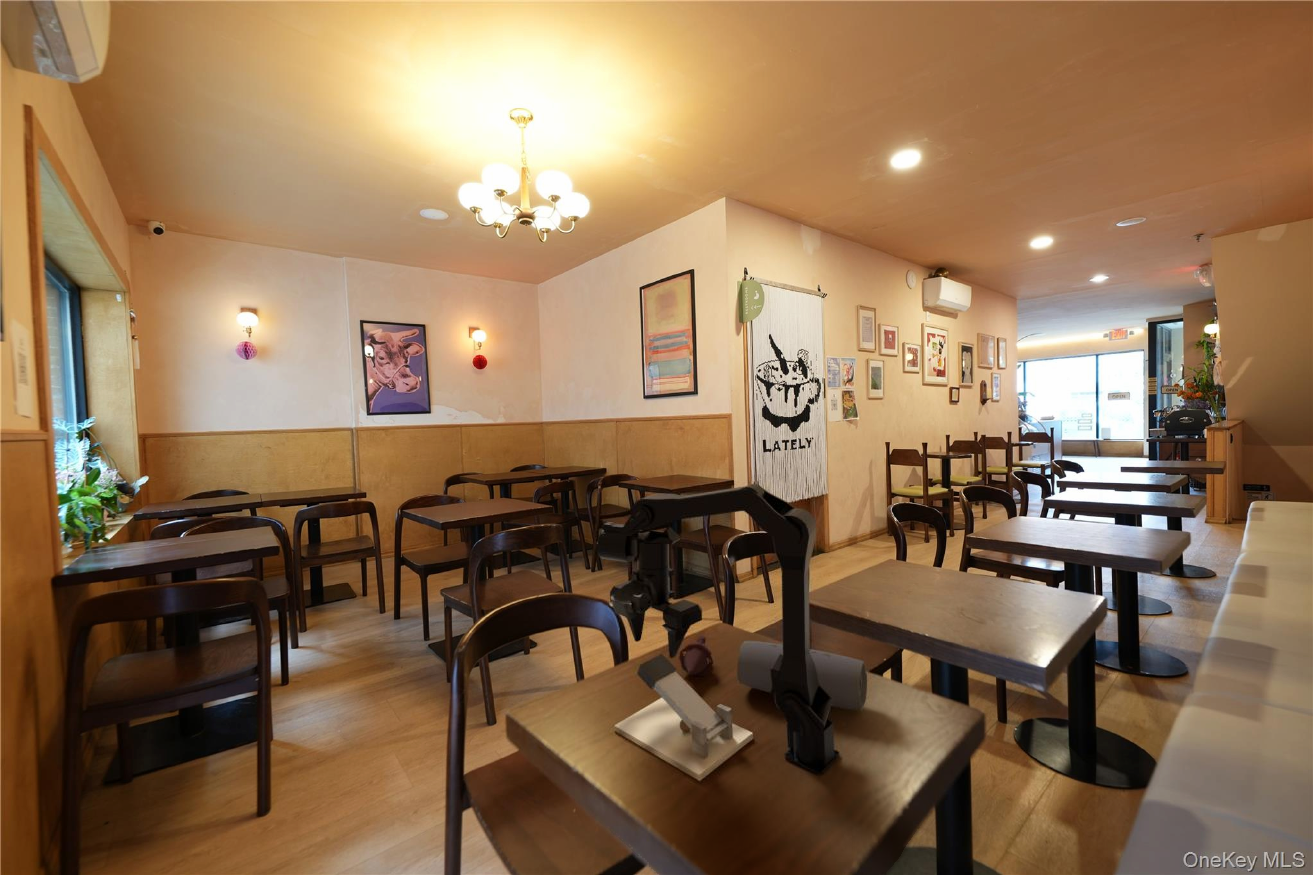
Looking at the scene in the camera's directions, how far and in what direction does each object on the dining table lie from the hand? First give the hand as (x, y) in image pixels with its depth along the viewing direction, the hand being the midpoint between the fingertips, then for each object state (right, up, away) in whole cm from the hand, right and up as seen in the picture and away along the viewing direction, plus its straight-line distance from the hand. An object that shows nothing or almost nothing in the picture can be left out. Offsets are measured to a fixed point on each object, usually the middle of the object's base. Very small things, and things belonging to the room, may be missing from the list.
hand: (654, 648), depth 99 cm
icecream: (+9, -12, +18) cm, 23 cm away
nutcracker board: (+5, -14, -4) cm, 15 cm away
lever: (+4, -8, -4) cm, 10 cm away
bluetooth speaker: (+28, -12, +5) cm, 31 cm away
